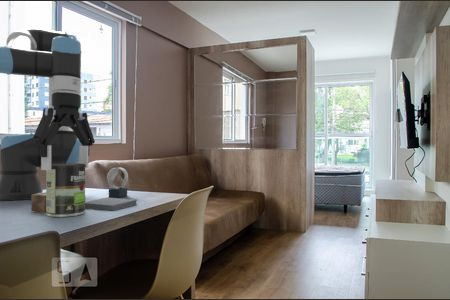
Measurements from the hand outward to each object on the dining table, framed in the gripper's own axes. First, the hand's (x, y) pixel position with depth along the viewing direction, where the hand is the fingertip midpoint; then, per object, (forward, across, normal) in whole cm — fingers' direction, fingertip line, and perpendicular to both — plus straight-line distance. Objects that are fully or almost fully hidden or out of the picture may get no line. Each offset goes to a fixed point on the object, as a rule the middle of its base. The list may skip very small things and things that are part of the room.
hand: (66, 168), depth 99 cm
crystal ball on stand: (+12, +32, +7) cm, 36 cm away
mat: (+13, +15, -3) cm, 20 cm away
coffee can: (+13, 0, 0) cm, 13 cm away
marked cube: (+13, +1, +9) cm, 16 cm away
